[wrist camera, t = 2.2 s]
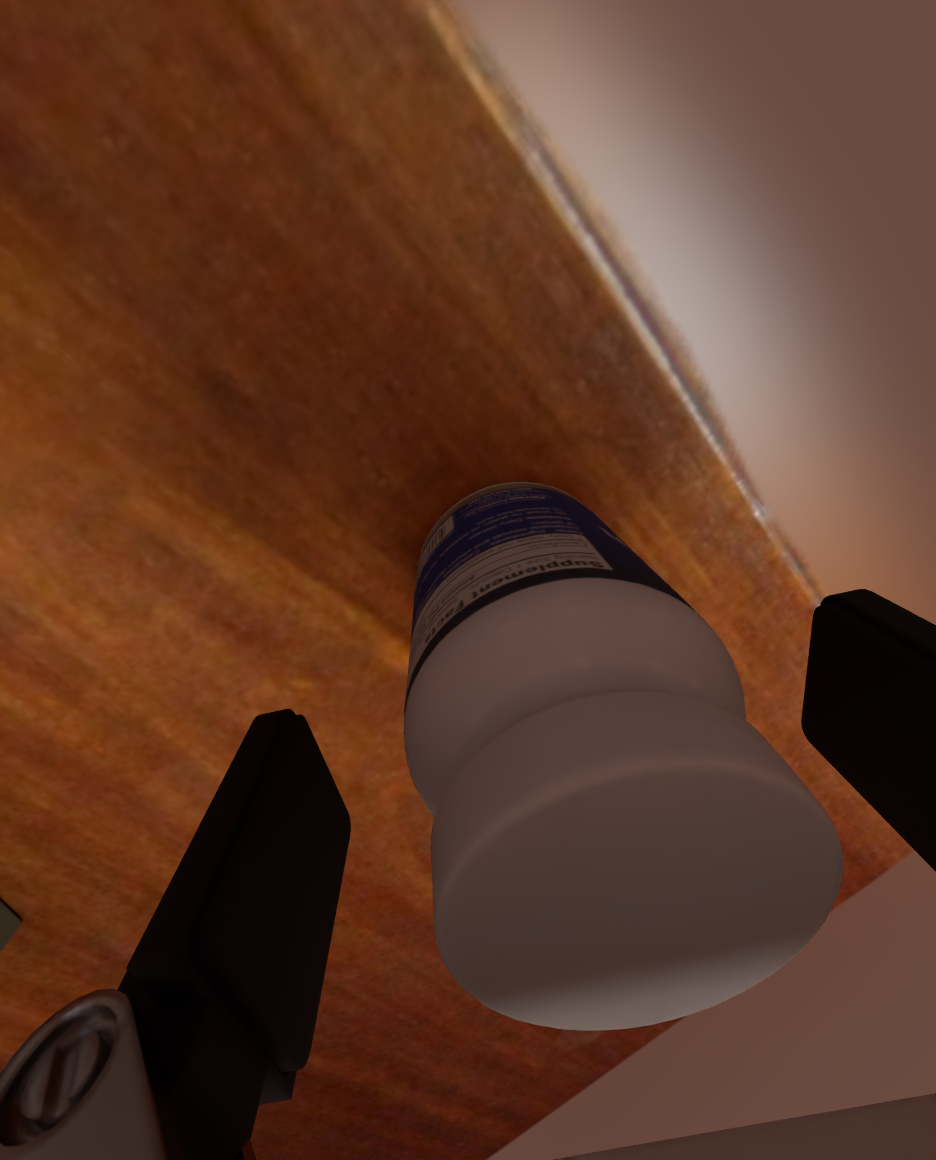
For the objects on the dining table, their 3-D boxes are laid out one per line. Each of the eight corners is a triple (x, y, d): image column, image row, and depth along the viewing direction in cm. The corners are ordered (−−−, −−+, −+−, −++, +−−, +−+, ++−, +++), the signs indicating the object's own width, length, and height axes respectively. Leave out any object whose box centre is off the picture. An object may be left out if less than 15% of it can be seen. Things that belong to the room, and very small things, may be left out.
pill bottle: (625, 615, 15) (896, 989, 6) (458, 674, 16) (487, 1092, 7) (578, 443, 13) (910, 645, 4) (384, 519, 13) (278, 848, 4)
